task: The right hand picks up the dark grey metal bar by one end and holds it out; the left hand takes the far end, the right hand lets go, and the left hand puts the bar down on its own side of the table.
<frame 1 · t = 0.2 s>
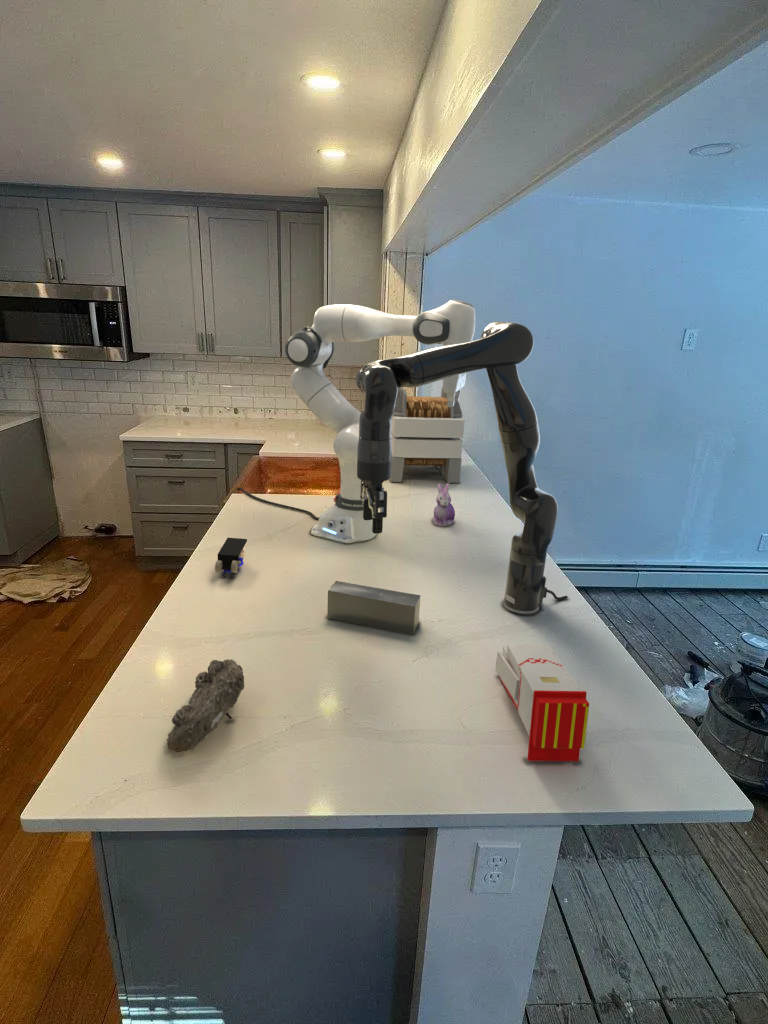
left hand: (453, 404, 174), 48 cm above the counter, tool pointing down, fingers open, 8 cm apart
right hand: (372, 526, 130), 28 cm above the counter, tool pointing down, fingers open, 8 cm apart
fossil: (212, 717, 108), on the counter
figurine: (443, 522, 212), on the counter
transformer: (419, 473, 275), on the counter
toy: (531, 711, 114), on the counter
figurine character: (232, 569, 168), on the counter
bar: (373, 620, 144), on the counter
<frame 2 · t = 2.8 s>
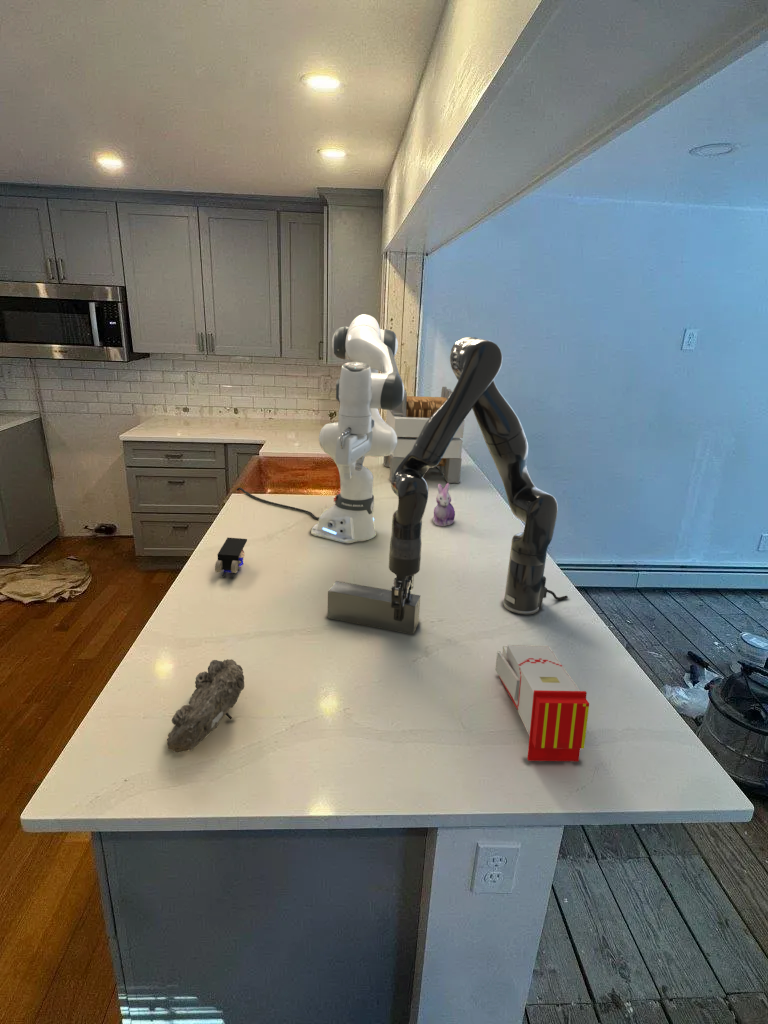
left hand: (353, 474, 157), 31 cm above the counter, tool pointing down, fingers open, 8 cm apart
right hand: (401, 613, 141), 3 cm above the counter, tool pointing down, fingers closed on bar, 6 cm apart
bar: (373, 620, 144), on the counter, touching right hand
everything else where it was.
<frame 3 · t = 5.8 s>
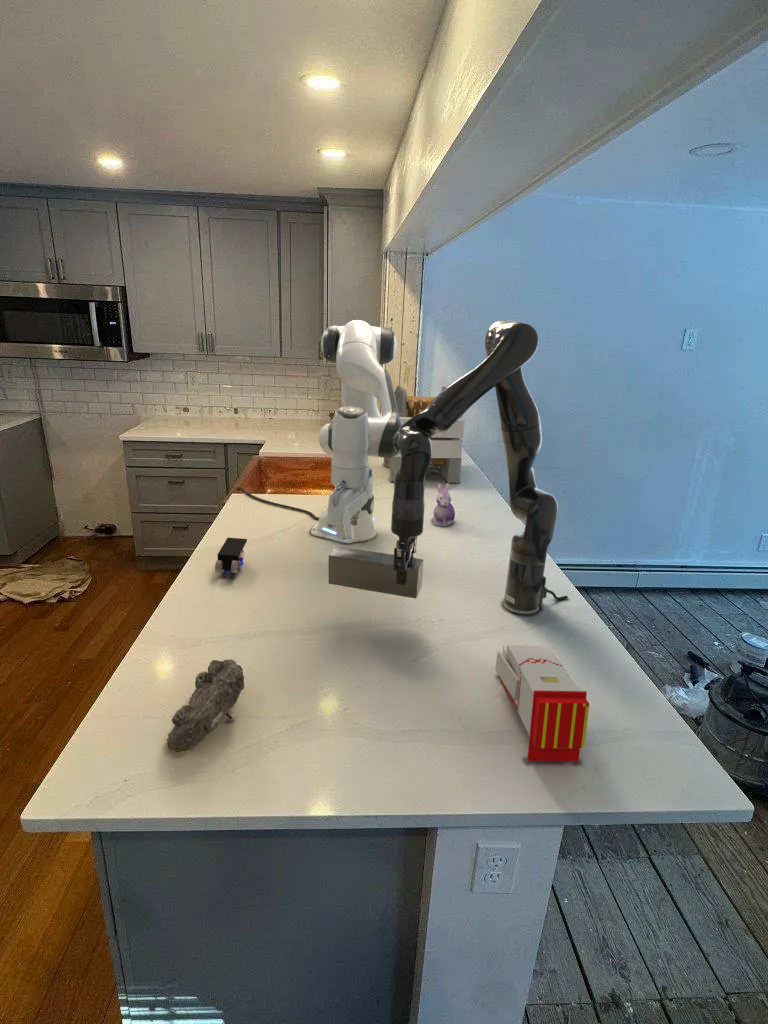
left hand: (348, 530, 139), 23 cm above the counter, tool pointing down, fingers open, 8 cm apart
right hand: (404, 578, 138), 13 cm above the counter, tool pointing down, fingers closed on bar, 6 cm apart
bar: (374, 585, 141), point 10 cm above the counter, touching right hand
everything else where it was.
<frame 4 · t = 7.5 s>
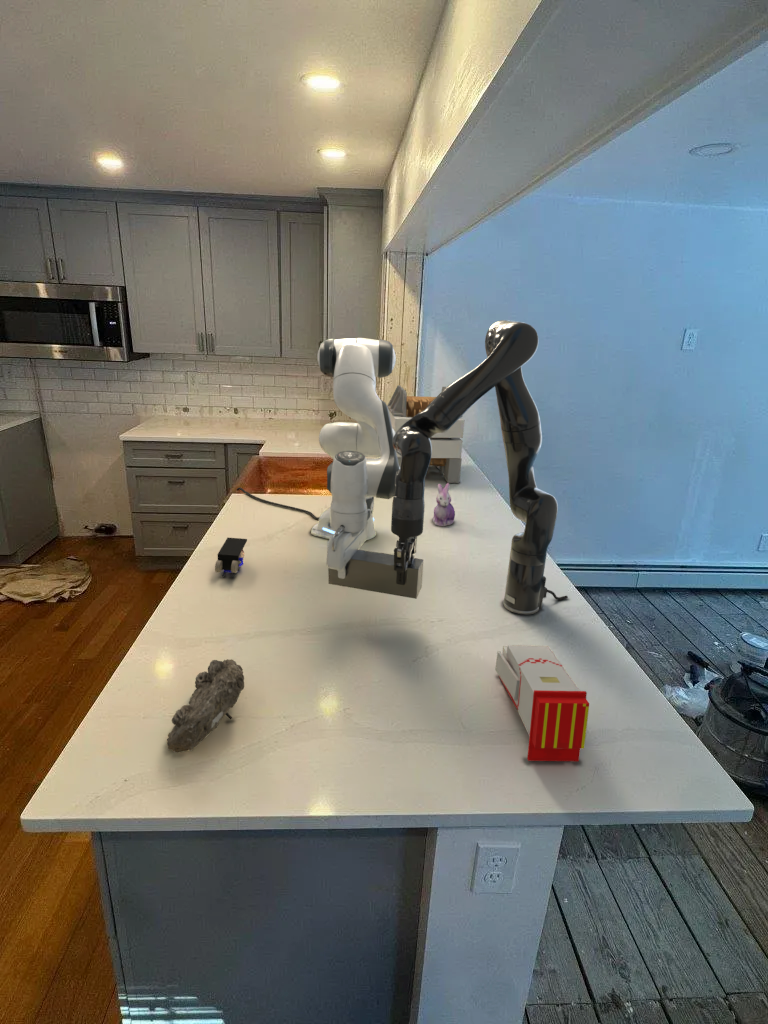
left hand: (347, 571, 141), 13 cm above the counter, tool pointing down, fingers closed on bar, 6 cm apart
right hand: (404, 578, 138), 13 cm above the counter, tool pointing down, fingers closed on bar, 6 cm apart
bar: (374, 585, 141), point 10 cm above the counter, touching left hand, right hand
everything else where it was.
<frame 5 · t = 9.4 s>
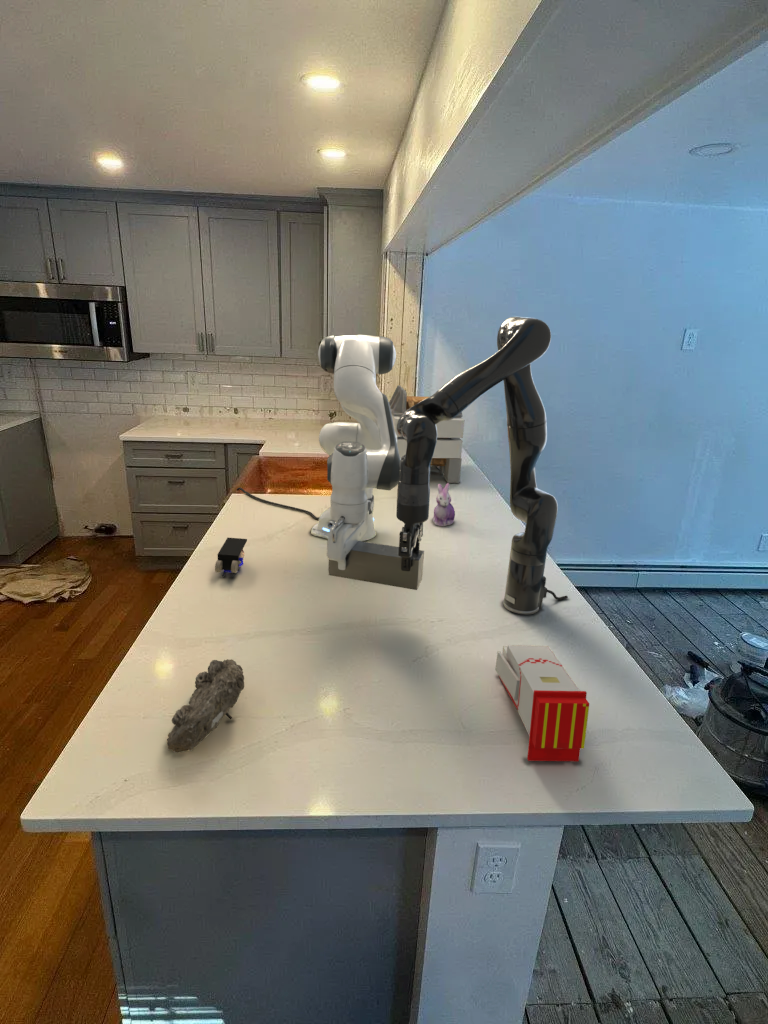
left hand: (347, 562, 141), 15 cm above the counter, tool pointing down, fingers closed on bar, 6 cm apart
right hand: (410, 563, 136), 17 cm above the counter, tool pointing down, fingers open, 8 cm apart
bar: (375, 577, 140), point 12 cm above the counter, touching left hand
everything else where it was.
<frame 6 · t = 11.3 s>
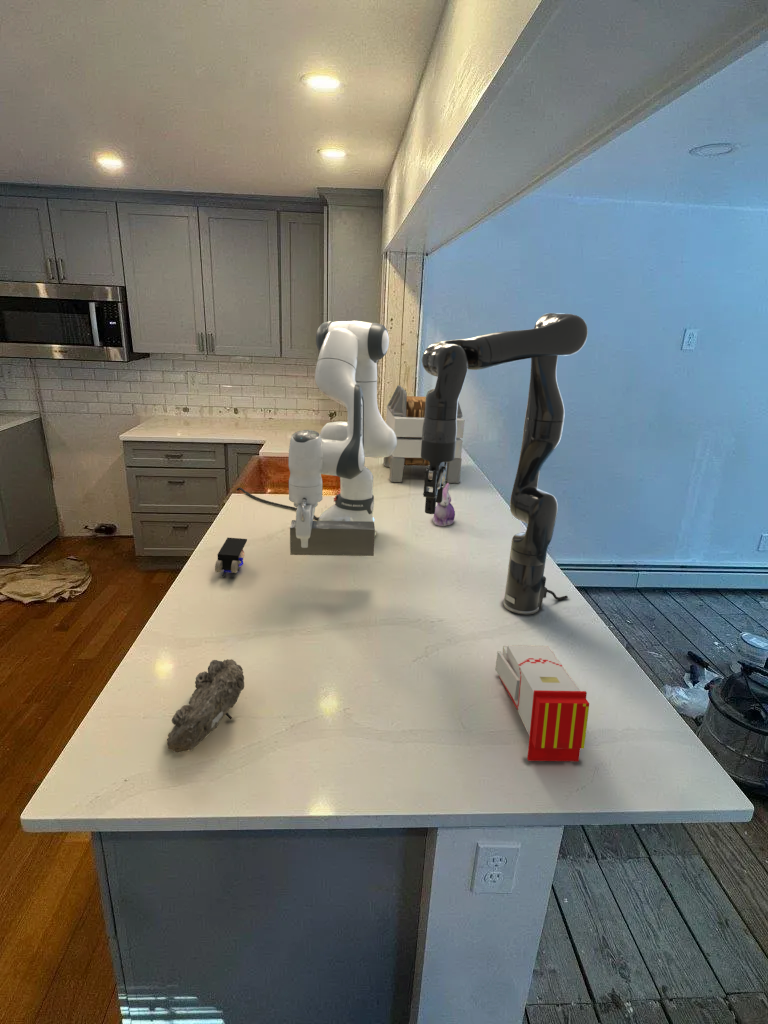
left hand: (305, 541, 154), 14 cm above the counter, tool pointing down, fingers closed on bar, 6 cm apart
right hand: (433, 507, 130), 32 cm above the counter, tool pointing down, fingers open, 8 cm apart
bar: (332, 551, 155), point 11 cm above the counter, touching left hand
everything else where it was.
when the left hand's fingers open (4 cm above the counter, at t = 13.0 s): bar stays where it is, on the counter.
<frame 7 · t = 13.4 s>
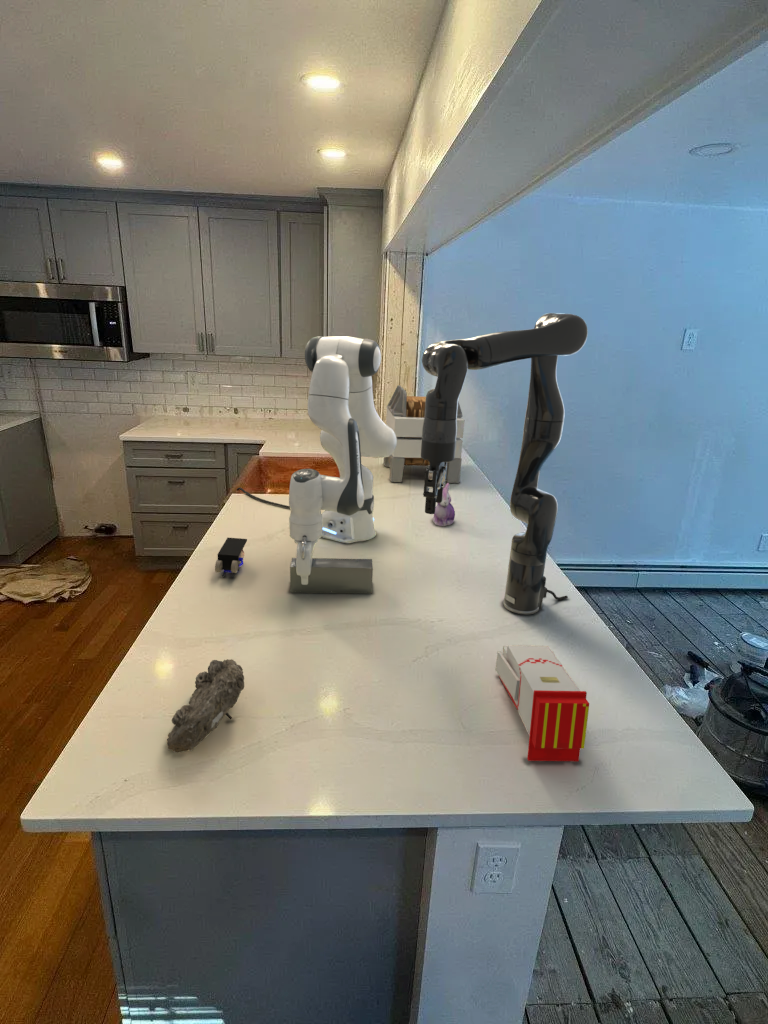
left hand: (306, 575, 158), 4 cm above the counter, tool pointing down, fingers open, 8 cm apart
right hand: (433, 507, 130), 32 cm above the counter, tool pointing down, fingers open, 8 cm apart
bar: (331, 588, 159), on the counter
everything else where it was.
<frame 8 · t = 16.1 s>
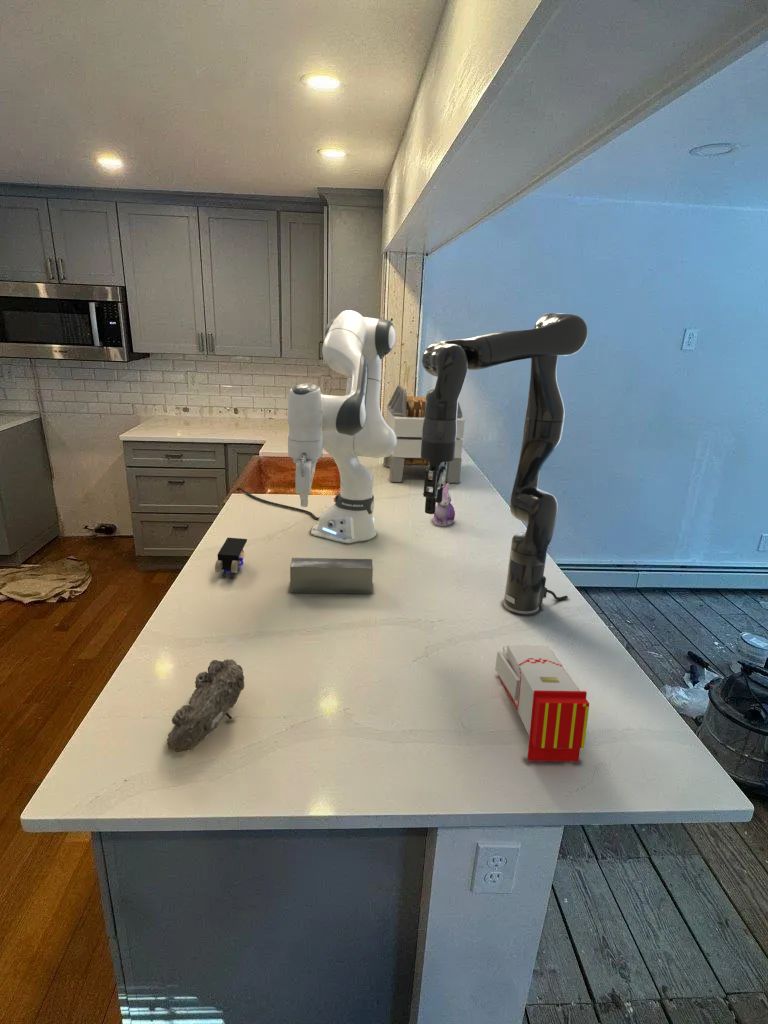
left hand: (305, 500, 150), 26 cm above the counter, tool pointing down, fingers open, 8 cm apart
right hand: (433, 507, 130), 32 cm above the counter, tool pointing down, fingers open, 8 cm apart
nothing on the counter moved.
at the end: bar inside the target area (7.1 cm from its centre), on the counter; the left hand is holding nothing; the right hand is holding nothing; bar at rest at the end (0.0 cm/s) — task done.
